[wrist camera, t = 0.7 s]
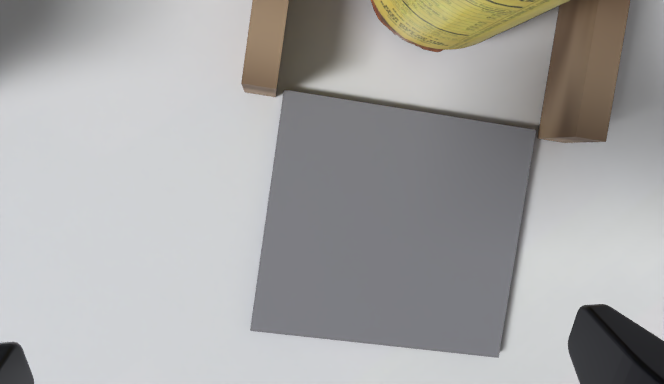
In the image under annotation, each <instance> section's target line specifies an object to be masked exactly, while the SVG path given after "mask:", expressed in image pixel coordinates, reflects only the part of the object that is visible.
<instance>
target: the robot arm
mask: <svg viewBox="0 0 664 384" xmlns="http://www.w3.org/2000/svg"><path fill="white" fill-rule="evenodd" d="M568 349H569V354H570V357H571V360H572V363H573V365H574V368H575V371H576V374H577V376H578V379H579V382H580V384H664V341H663V340H661V339H660V338H658V337H657V336H655V335H654V334H652V333H650V332H649V331H647V330H646V329H644V328H643V327H641V326H639V325H638V324H636V323H635V322H633V321H632V320H630V319H629V318H627V317H625V316H624V315H622V314H621V313H619V312H618V311H616V310H615V309H613V308H611V307H610V306H608V305H604V304H596V305H584V306H582V307H580V309H579V310H578V312H577V315H576V318H575V321H574V324H573V327H572V330H571V333H570V336H569V340H568ZM0 384H34V379H33V375H32V373H31V370H30V367H29V365H28V362H27V359H26V357H25V354H24V352H23V349H22V347H21V345H19V344H18V343H16V342H5V343H0Z"/></svg>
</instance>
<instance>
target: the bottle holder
mask: <svg viewBox="0 0 664 384" xmlns="http://www.w3.org/2000/svg"><path fill="white" fill-rule="evenodd" d="M288 3H289V0H253V2H252V9H251V17H250V24H249V31H248V39H247V46H246V53H245V61H244V68H243V75H242V83H241V84H242V86H243V89H244V91H245V92H247V93H253V94H259V95H266V96H272V97H275V96H276V89H277V82H278V74H279V67H280V60H281V53H282V46H283V39H284V32H285V24H286V17H287V10H288ZM629 5H630V0H570V1H568V2H566V3H563V4H561V5H560V6H559V12H558V18H557V24H556V30H555V36H554V42H553V48H552V54H551V60H550V66H549V72H548V78H547V84H546V90H545V96H544V102H543V108H542V114H541V120H540V126H539V132H538V139H544V140H551V141H557V142H563V143H572V142H606V138H607V132H608V127H609V121H610V115H611V109H612V104H613V98H614V92H615V86H616V80H617V75H618V69H619V63H620V57H621V51H622V46H623V40H624V34H625V28H626V22H627V17H628V11H629Z"/></svg>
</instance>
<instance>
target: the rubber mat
mask: <svg viewBox="0 0 664 384" xmlns="http://www.w3.org/2000/svg"><path fill="white" fill-rule="evenodd" d="M535 135H536V130H533V129H527V128H521V127H515V126H508V125H502V124H496V123H489V122H483V121H477V120H471V119H464V118H458V117H452V116H446V115H439V114H433V113H427V112H421V111H414V110H408V109H402V108H396V107H389V106H383V105H377V104H371V103H364V102H358V101H352V100H346V99H339V98H333V97H327V96H321V95H314V94H308V93H302V92H296V91H289V90H284V94H283V101H282V108H281V115H280V122H279V130H278V137H277V144H276V151H275V158H274V165H273V172H272V179H271V186H270V194H269V201H268V208H267V215H266V222H265V229H264V236H263V243H262V250H261V258H260V265H259V272H258V279H257V286H256V293H255V300H254V307H253V314H252V322H251V329H250V331H258V332H267V333H276V334H285V335H295V336H304V337H313V338H322V339H331V340H341V341H350V342H359V343H368V344H377V345H387V346H396V347H405V348H414V349H423V350H433V351H442V352H451V353H460V354H469V355H479V356H488V357H497V358H499V352H500V346H501V340H502V334H503V328H504V322H505V316H506V310H507V304H508V298H509V292H510V286H511V280H512V274H513V268H514V262H515V256H516V250H517V244H518V238H519V231H520V225H521V219H522V213H523V207H524V201H525V195H526V189H527V183H528V177H529V171H530V165H531V159H532V153H533V147H534V141H535Z"/></svg>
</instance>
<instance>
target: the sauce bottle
mask: <svg viewBox="0 0 664 384" xmlns="http://www.w3.org/2000/svg"><path fill="white" fill-rule="evenodd" d="M568 1H570V0H371V2H372V5H373V8H374V11H375V13H376V15H377V17H378V19H379V20H380V21H381V22H382V23H383V24H384V25H385V26H386V27H387V28H388V29H389V30H391V31H392V32H393V33H394V34H395V35H398V36H399V37H400V38H401V39H403V40H405V41H407V42H409V43H412V44H415V45H416V46H419V47H421V48H422V49H425V50H429V51H434V52H440V51H442V50H445V49H446V50H447V49H460V48H465V47H468V46H472V45H475V44H478V43H480V42H482V41H484V40H486V39H488V38H490V37H493V36H495V35H497V34H499V33H501V32H503V31H506V30H508V29H510V28H512V27H515V26H517V25H519V24H521V23H523V22H525V21H527V20H530V19H532V18H534V17H536V16H538V15H540V14H542V13H544V12H546V11H549V10H551V9H553V8H555V7H557V6H559V5H561V4H563V3H566V2H568Z"/></svg>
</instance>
